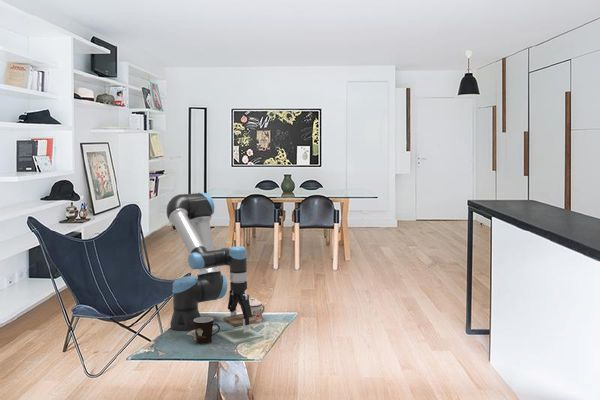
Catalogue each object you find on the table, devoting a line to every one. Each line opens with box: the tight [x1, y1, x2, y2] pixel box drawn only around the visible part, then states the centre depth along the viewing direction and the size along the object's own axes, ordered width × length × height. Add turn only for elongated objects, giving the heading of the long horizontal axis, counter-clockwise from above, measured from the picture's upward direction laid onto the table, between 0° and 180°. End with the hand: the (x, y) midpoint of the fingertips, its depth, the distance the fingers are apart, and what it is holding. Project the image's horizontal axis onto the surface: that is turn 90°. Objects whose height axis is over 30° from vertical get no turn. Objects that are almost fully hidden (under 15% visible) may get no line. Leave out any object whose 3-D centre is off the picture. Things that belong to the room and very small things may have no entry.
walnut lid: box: [222, 313, 257, 328], centre depth 265 cm, size 11×11×2 cm
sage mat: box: [216, 327, 265, 345], centre depth 266 cm, size 16×15×1 cm
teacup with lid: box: [249, 297, 266, 324], centre depth 289 cm, size 12×9×12 cm
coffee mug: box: [194, 316, 221, 345], centre depth 258 cm, size 12×9×10 cm
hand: (240, 328), depth 265 cm, fingers closed on walnut lid, 11 cm apart
